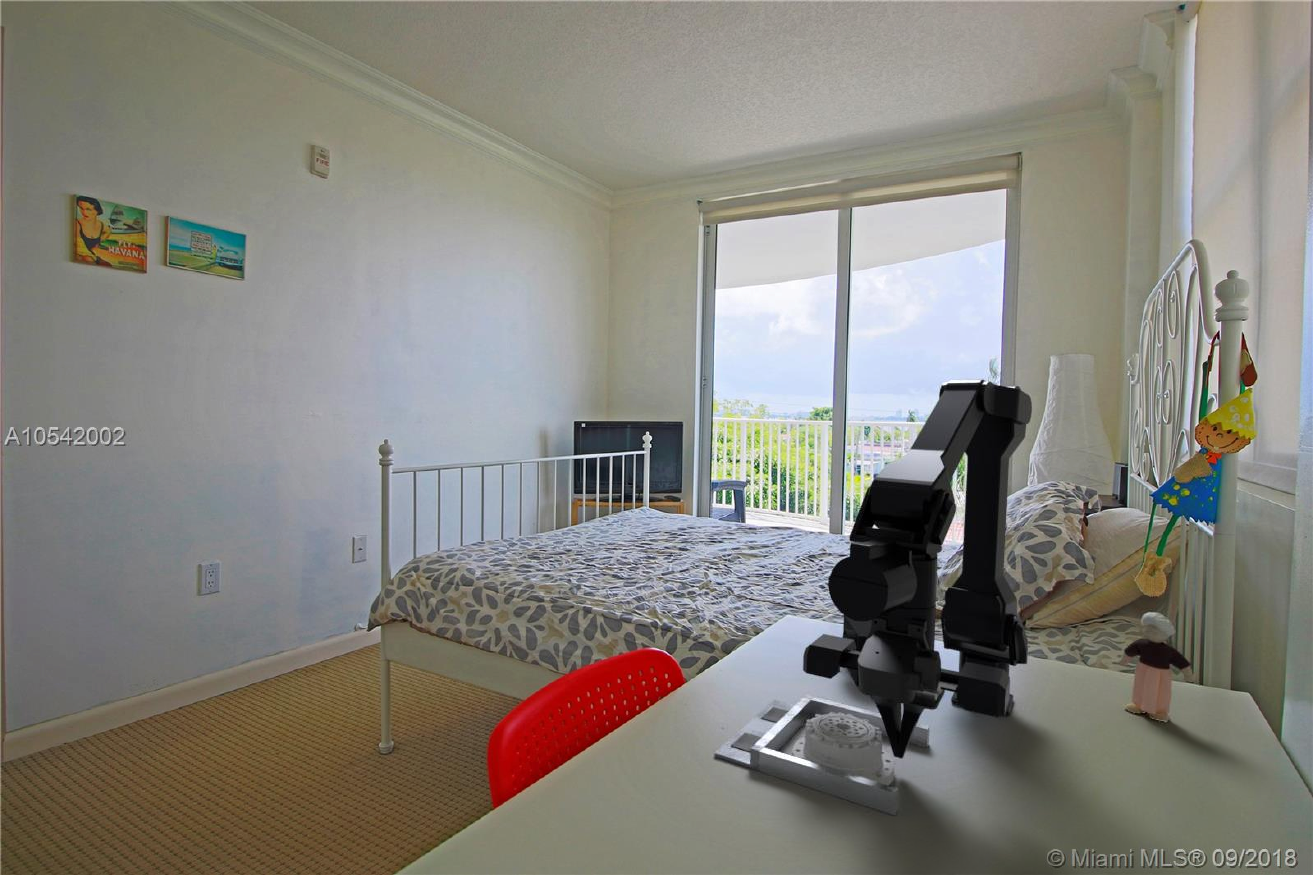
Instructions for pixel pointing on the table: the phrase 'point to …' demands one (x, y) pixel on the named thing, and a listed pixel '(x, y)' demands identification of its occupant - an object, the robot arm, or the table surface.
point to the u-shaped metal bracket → (775, 728)
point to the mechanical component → (846, 746)
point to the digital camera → (856, 638)
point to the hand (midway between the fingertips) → (899, 756)
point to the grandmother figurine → (1154, 667)
